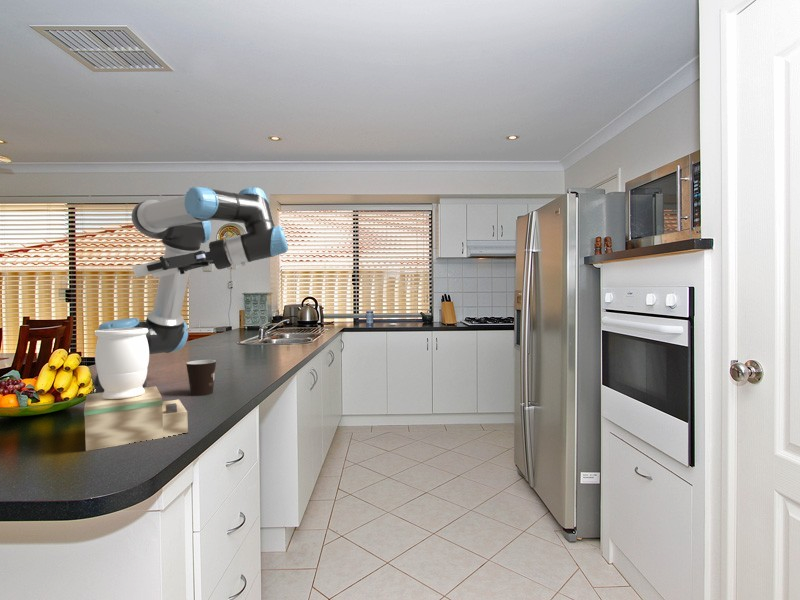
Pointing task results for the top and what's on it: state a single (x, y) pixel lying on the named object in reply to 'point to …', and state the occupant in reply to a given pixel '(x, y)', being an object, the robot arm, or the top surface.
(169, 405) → the step stand
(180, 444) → the top surface
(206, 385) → the coffee mug
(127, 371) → the jar
